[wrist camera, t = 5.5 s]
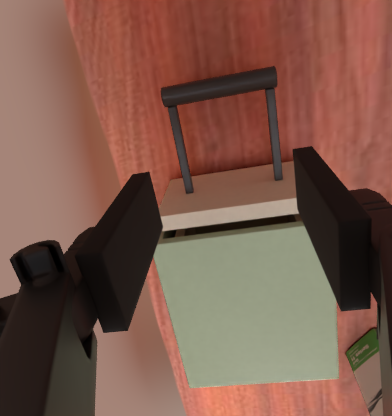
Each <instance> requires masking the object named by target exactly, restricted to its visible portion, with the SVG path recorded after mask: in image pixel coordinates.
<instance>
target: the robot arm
mask: <svg viewBox="0 0 392 416" xmlns="http://www.w3.org/2000/svg"><path fill="white" fill-rule="evenodd" d="M293 161H294V173H295V186H296V198H297V210H298V212H299V214H300V217H301V219H302V221H303V224H304V226H305V228H306V231H307V233H308V235H309V238H310V240H311V242H312V245H313V247H314V249H315V252H316V254H317V256H318V259H319V261H320V263H321V266H322V268H323V270H324V273H325V275H326V277H327V280H328V282H329V284H330V287H331V289H332V291H333V294H334V296H335V298H336V301H337V303H338V305H339V308H340V310H341V311H350V310H361V309H370V305H371V293H372V294H373V296H374V298H375V300H376V301H377V340H379V355H380V371H381V387H382V403H383V416H392V205H391V204H390V203H389V202H387V200H386V199H385V198H384V197H383V196H382V195H381V194H380V193H377V192H375V191H372V190H370V189H367V188H365V189H358V190H351V191H348V189H347V188H346V187H345V186H344V185H343V183H342V182H341V181H340V180H339V178H338V177H337V176H336V175H335V174H334V172H333V171H332V170H331V169H330V168H329V166H328V165H327V164H326V163H325V162H324V160H323V159H322V158H321V157H320V156H319V154H318V153H317V152H316V151H315V150H314V148H313V147H312V146H310V147H304V148H297V149H293ZM162 229H163V224H162V220H161V216H160V212H159V208H158V204H157V201H156V197H155V193H154V189H153V185H152V181H151V177H150V173H149V172H145V173H139V174H133V175H132V176H131V177H130V179H129V180H128V182H127V183H126V184H125V186H124V187H123V189H122V190H121V191H120V193H119V194H118V196H117V197H116V198H115V200H114V201H113V203H112V204H111V205H110V207H109V208H108V210H107V211H106V212H105V214H104V215H103V217H102V218H101V219H100V221H99V222H98V224H97V225H96V226H95V227H90V228H88V229H87V230H85V231H84V232H83V233H81V234H80V235H79V236H78V237H77V238H76V239H75V241H74V242H73V244H72V245H71V246H70V247H69V248H68V251H66V252H65V254H63V252H62V249H61V247H60V244H59V242H57V241H55V240H47V241H42V242H38V243H34V244H32V245H29V246H27V247H25V248H23V249H21V250H19V251H18V252H17V253H15V254H14V255H13V256H12V257H11V259H10V262H11V263H12V266H13V268H14V270H15V272H16V274H17V277H18V279H19V281H20V283H21V287H20V290H19V292H18V293H17V294H13V295H10V296H7V297H4V298H0V416H95V388H96V361H97V339H96V336H95V333H94V331H93V327H94V325H95V323H96V321H97V319H99V322H100V324H101V327H102V330H103V332H104V333H107V332H118V331H128V328H129V326H130V323H131V320H132V317H133V314H134V311H135V308H136V305H137V302H138V299H139V296H140V293H141V290H142V287H143V285H144V282H145V279H146V276H147V273H148V270H149V267H150V264H151V261H152V258H153V256H154V253H155V250H156V247H157V244H158V241H159V238H160V235H161V232H162Z"/></svg>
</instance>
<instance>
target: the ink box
mask: <svg viewBox="0 0 392 416" xmlns="http://www.w3.org/2000/svg"><path fill="white" fill-rule="evenodd" d="M346 355H347V358H348V360H349V363H350V365H351V367H352V370H353V373H354V375H355V378H356V380H357V383H358V385H359V388H360V390H361V393H362V395H363V398H364V401H365V403H366V406H367V408H368V411H369V413H370V416H383V403H382V387H381V371H380V355H379V340H377V329H372V330H371V331H369V332H368V333H367V334H366V335H365V336H363V337H362V338H361V339H360V340H359V341H358V342H357V343H355V344H354V345H353V346H352V347H351V348H350V349H349V350H348V351H347V352H346Z"/></svg>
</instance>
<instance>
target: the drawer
mask: <svg viewBox="0 0 392 416" xmlns="http://www.w3.org/2000/svg"><path fill="white" fill-rule="evenodd" d="M275 87H277V72H276V68H275V66H271V67H266V68H261V69H256V70H250V71H245V72H240V73H235V74H230V75H224V76H219V77H214V78H209V79H204V80H198V81H193V82H188V83H183V84H178V85H173V86H167V87H162V88H161V97H162V101H163V104H164V106H165V107H168V112H169V116H170V121H171V126H172V130H173V135H174V140H175V144H176V149H177V154H178V158H179V163H180V168H181V172H182V177H183V178H178V179H172V180H170V182H169V185H168V187H167V190H166V192H165V194H164V197H163V199H162V202H161V204H160V207H159V212H160V216H161V220H162V224H163V229H162V231H169V230H176V229H177V230H176V234H175V237H181V236H189V235H197V234H205V233H213V232H220V231H228V230H236V229H244V228H252V227H259V226H267V225H275V224H283V223H290V222H298V221H302V219H301V217H300V214H299V212H298V210H297V198H296V186H295V173H294V161H289V162H283V163H281V153H280V142H279V132H278V121H277V110H276V100H275V89H274V88H275ZM264 89H265V94H266V103H267V113H268V123H269V132H270V142H271V151H272V161H273V164H270V165H263V166H257V167H250V168H244V169H237V170H230V171H224V172H217V173H211V174H204V175H198V176H191V173H190V169H189V164H188V159H187V154H186V149H185V144H184V139H183V134H182V129H181V124H180V119H179V115H178V110H177V105H183V104H188V103H194V102H199V101H204V100H210V99H215V98H221V97H226V96H232V95H237V94H243V93H248V92H253V91H259V90H264Z"/></svg>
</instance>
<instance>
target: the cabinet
mask: <svg viewBox="0 0 392 416" xmlns="http://www.w3.org/2000/svg"><path fill="white" fill-rule="evenodd" d="M176 230H177V229H176ZM176 230H169V231H162V232H161V235H160V238H159V241H158V244H157V247H156V250H155V253H154V256H153V257H154V261H155V264H156V268H157V271H158V275H159V279H160V282H161V286H162V290H163V293H164V297H165V301H166V304H167V308H168V311H169V315H170V319H171V322H172V326H173V330H174V333H175V337H176V340H177V344H178V348H179V351H180V355H181V359H182V362H183V366H184V370H185V373H186V377H187V380H188V384H189V388H200V387H215V386H231V385H246V384H262V383H277V382H293V381H309V380H324V379H338V378H339V364H338V335H337V307H336V298H335V296H334V294H333V291H332V289H331V287H330V284H329V282H328V280H327V277H326V275H325V273H324V270H323V268H322V266H321V263H320V261H319V259H318V256H317V254H316V252H315V249H314V247H313V245H312V242H311V240H310V238H309V235H308V233H307V231H306V228H305V226H304V224H303V221H298V222H290V223H283V224H275V225H267V226H259V227H252V228H244V229H236V230H228V231H220V232H213V233H205V234H197V235H189V236H181V237H175V234H176Z"/></svg>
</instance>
